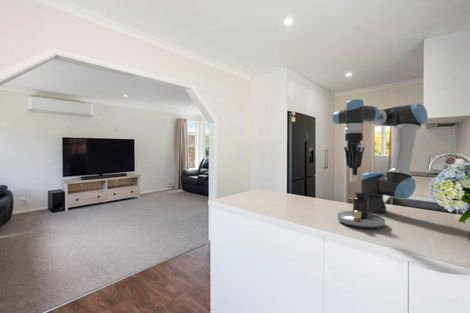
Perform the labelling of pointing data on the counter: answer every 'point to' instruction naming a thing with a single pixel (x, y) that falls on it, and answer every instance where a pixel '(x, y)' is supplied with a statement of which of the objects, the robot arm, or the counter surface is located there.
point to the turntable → (361, 219)
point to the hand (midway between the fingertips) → (353, 181)
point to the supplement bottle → (361, 204)
